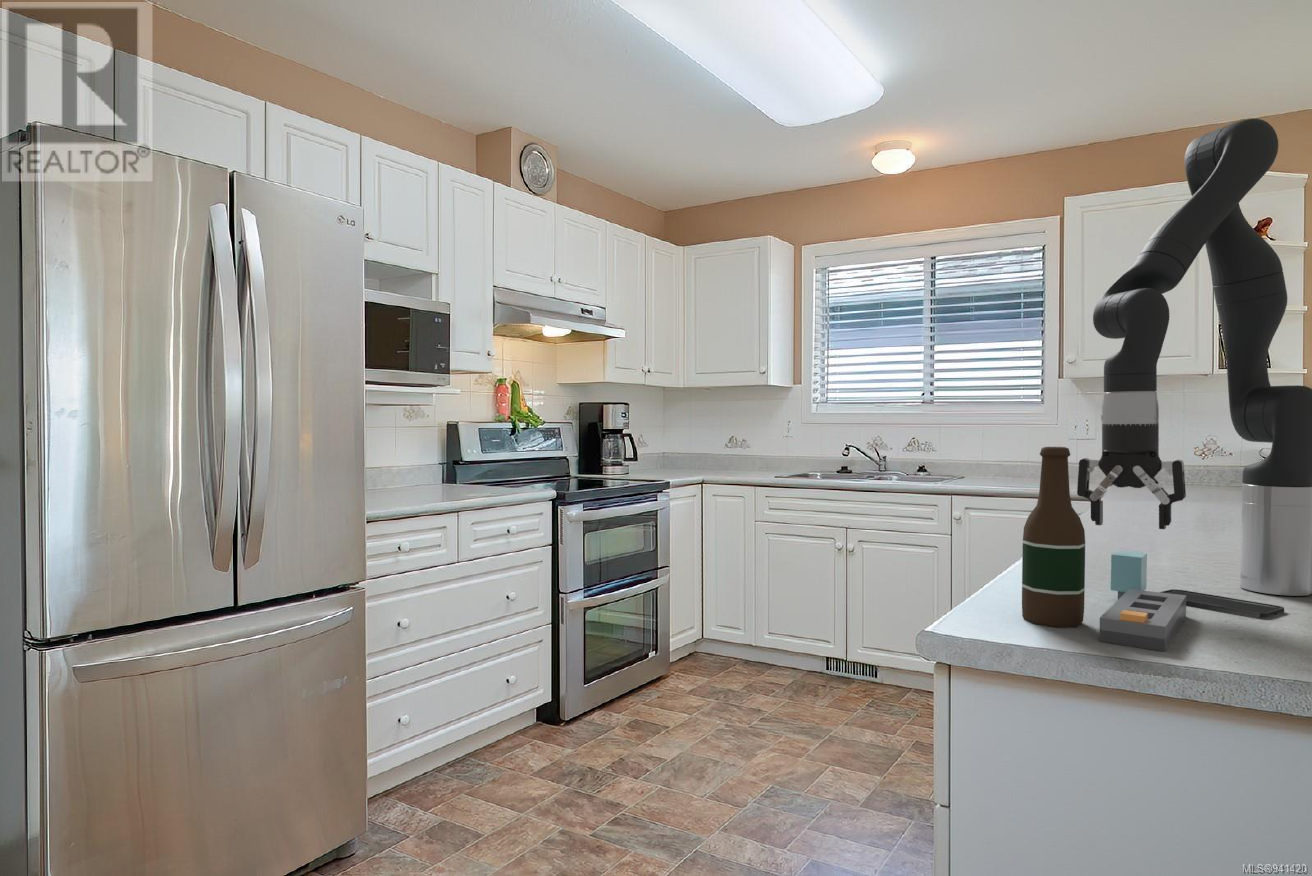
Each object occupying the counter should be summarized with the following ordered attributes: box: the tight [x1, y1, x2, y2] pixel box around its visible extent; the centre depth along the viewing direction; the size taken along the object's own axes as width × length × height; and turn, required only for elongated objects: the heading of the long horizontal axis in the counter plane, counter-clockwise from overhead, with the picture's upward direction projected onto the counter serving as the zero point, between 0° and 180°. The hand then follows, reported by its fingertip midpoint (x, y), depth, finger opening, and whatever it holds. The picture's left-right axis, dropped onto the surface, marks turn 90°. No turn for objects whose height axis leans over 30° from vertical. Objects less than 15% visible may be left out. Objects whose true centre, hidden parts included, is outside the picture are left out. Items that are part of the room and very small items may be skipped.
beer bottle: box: [1021, 446, 1086, 628], centre depth 111 cm, size 8×8×24 cm
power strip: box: [1098, 589, 1187, 652], centre depth 107 cm, size 22×7×4 cm, turn 141°
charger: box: [1110, 550, 1148, 600], centre depth 124 cm, size 5×4×7 cm
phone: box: [1160, 588, 1285, 620], centre depth 121 cm, size 8×1×15 cm
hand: (1129, 526), depth 124 cm, fingers open, 8 cm apart
